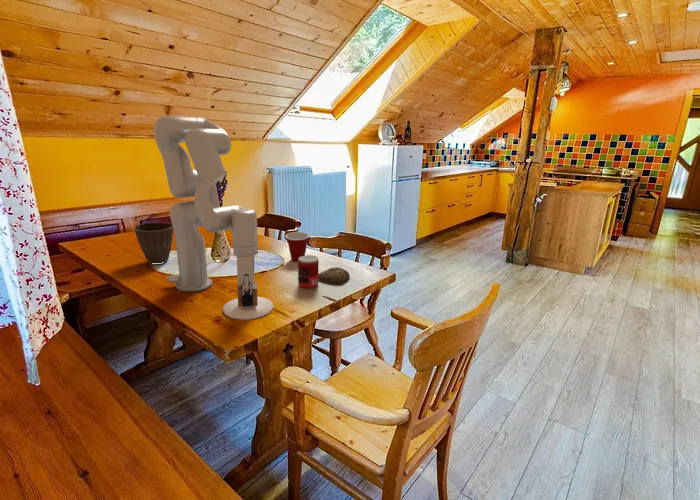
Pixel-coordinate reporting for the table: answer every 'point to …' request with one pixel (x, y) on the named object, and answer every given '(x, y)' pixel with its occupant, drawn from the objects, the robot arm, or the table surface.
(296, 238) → the plastic cup
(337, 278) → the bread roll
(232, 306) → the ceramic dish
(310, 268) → the canned food
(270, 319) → the table surface
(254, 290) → the walnut block
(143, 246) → the plant pot
